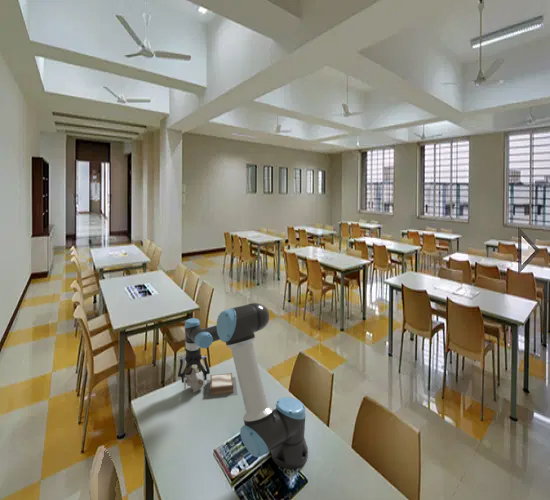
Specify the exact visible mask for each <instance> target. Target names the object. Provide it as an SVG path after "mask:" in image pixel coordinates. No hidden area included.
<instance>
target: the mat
mask: <svg viewBox="0 0 550 500" xmlns="http://www.w3.org/2000/svg"><path fill="white" fill-rule="evenodd" d="M232 378H233V392H234V393H227V394H218V395H211V394H210V379H207V380H206V399H212V398H221V397H230V396H238V387H237V379H236V377H234V376H232Z"/></svg>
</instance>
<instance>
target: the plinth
mask: <svg viewBox="0 0 550 500" xmlns="http://www.w3.org/2000/svg"><path fill="white" fill-rule="evenodd" d="M209 376H210V379H209V380H210V394H211V395H218V394H227V393H234V392H233V378H232V377H233V373H220V374H211V375H210V374H209Z"/></svg>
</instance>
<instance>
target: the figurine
mask: <svg viewBox="0 0 550 500" xmlns="http://www.w3.org/2000/svg"><path fill="white" fill-rule="evenodd" d="M184 369H185V368H184ZM184 369H183V371H184V373H185V378H186V386H188V387H190V390H192V393H197V392H198V391H200V390H201V389H202V387H203V379H201V378H200V377H199V376H198V375H197V372H196V369H195V367H193V366H191V365H190V366H189V367H188V368H186V369H185V370H184Z"/></svg>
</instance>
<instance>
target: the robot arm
mask: <svg viewBox="0 0 550 500" xmlns="http://www.w3.org/2000/svg"><path fill="white" fill-rule="evenodd" d="M269 322H270V312H269V310H268V309H267V307H266V306H265V305H264V304H261V303H257V302H251V303H247V304H244V305H239V306H236V307H231V308H228V309H226V310H225V309H224V310H223V311H221V312H220V313H219V314H218V316H217V319H216V325H213V326H209V327H204V328H203V327H201V323H200V319H199V318H195V317H192V318H188V319H186V320H185V322H184V335H185V341H184V342H185V357H182V356H181V357H180V359H179V363H180V364H179V368H178V373H177V378H181V383H183V389H184V390H185V389H187V383H186V378H185V373H184V370H185V369H186V368H188V367H189V366H190V367H191V366H193V365H195V366H197V367H198V368H199V369H200V371H201V372H202V381H203V386H202V387H203V388H206V387H205V385H206V383H205V381H207V380H208V377H207V375H210V373H211V371H210V369H211V368H210V365H209V363H208V356H207V355H206V354H205V355H202V354H201V353H202V352H201V349H207V348H209V347H210V346H211V345H212V344H213V343H214V342H218V341H221V342H224V343H225V345H226V347H227V348H229V349H230V350H231V354H232V357H233V363H234V366H235V370H236V374H237V380H238V383H239V389H240V393H241V397H242V401H243V405H244V410H245V414H244V415H243V418H242V419H243V423H244V425H242V426H241V427H240V431H239V434H240V438H241V441H242V442H243V445H244V446H245V448H246V450H247V451H248V452H249V454H250V455H251V456H253V457H254V458H261V457H262V456H265V455H267V454H269V453H270V452H271V453H270V455H271V454H272V456H271V458H272V460H273V462H274V464H276V465H277V466H278V467H280V468H283V469H285V470H297V469H299V468H301V467H302V466H304V465H305V464H306V463H307V460H308V458H309V457H308V456H309V447H308V444H307V441H306V438H305V429H306V427H305V425H306V416H307V415H306V407H305V404H304V403H303V402H302V401H301V400H299V399H298V398H294V397H289V396H287V397H286V396H285V397H281V398H279V399H278V400H277V402H276V404H275V408H274V409H273V407H271V406H270V405H269V404H268V401H267V398H266V397H267V396H266V393H265V392H266V391H265V389H264V383H263V381H262V376H261V373H260V368H259V364H258V359H257V356H256V352H255V347H254V343H253V342H254V341H255V338H256V335H255V333H256V332H259V331H261V330H263V329H264V328H265V327H267V325H268V324H269ZM201 360H202V361H203V363H204V366H203V364H202V363H201ZM185 361H186V362H187V363H186V365H185V367H184V369H183V364H184V363H185ZM182 369H183V371H182Z"/></svg>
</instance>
